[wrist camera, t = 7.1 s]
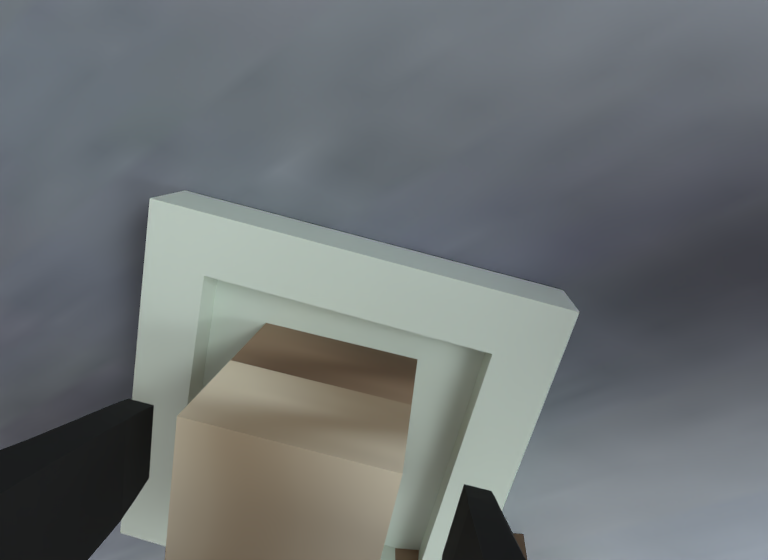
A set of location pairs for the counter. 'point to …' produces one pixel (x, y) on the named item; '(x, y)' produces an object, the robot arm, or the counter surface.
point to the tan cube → (291, 452)
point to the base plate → (353, 325)
